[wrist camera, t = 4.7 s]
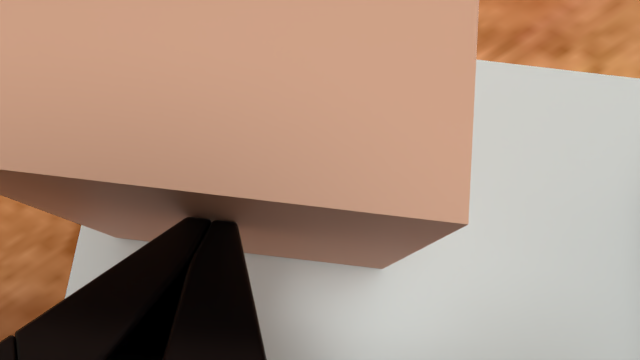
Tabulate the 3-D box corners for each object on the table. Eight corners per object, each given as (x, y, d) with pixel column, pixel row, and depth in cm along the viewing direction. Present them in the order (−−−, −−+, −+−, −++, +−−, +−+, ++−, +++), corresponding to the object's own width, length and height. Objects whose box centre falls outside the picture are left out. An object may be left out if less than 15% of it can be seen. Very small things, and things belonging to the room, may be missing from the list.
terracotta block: (382, 268, 14) (468, 224, 6) (115, 237, 14) (-100, 157, 6) (400, 59, 15) (486, -171, 8) (158, 30, 15) (22, -225, 8)
